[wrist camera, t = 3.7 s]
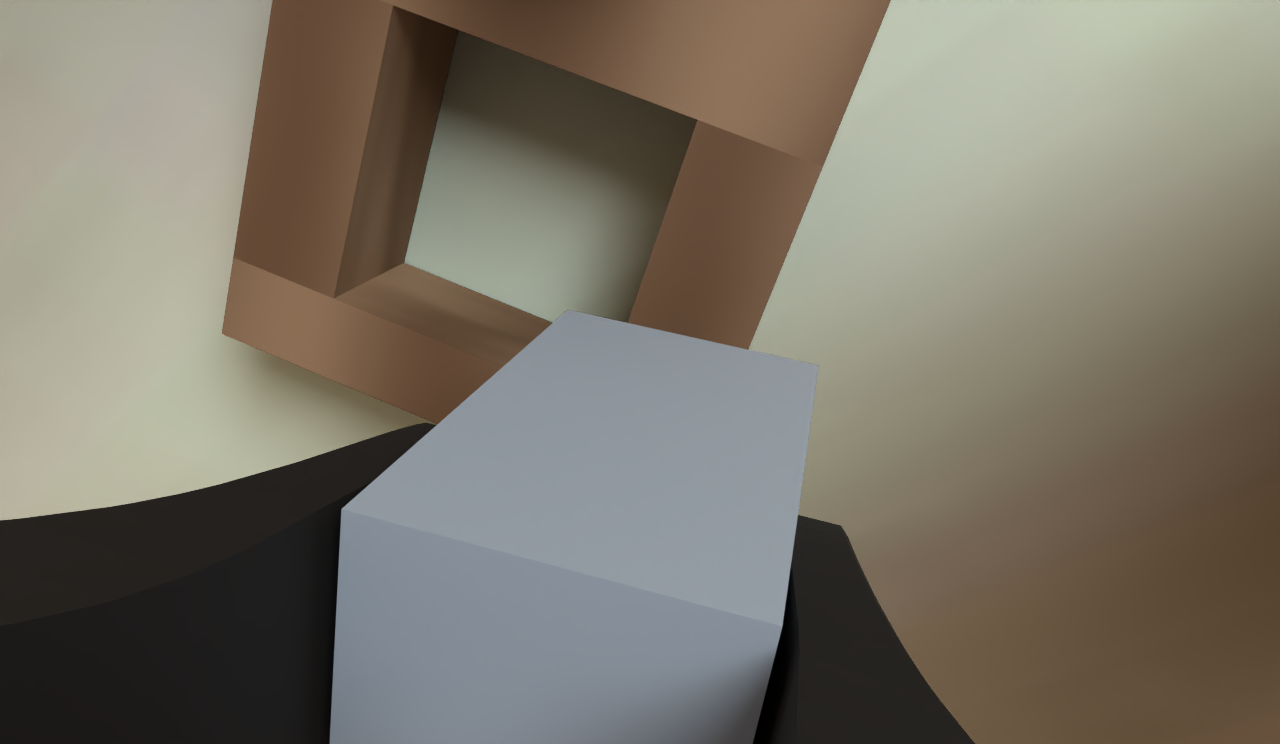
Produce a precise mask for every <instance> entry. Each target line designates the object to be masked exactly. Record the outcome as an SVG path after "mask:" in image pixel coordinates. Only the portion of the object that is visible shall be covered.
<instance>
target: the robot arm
mask: <svg viewBox="0 0 1280 744" xmlns="http://www.w3.org/2000/svg"><path fill="white" fill-rule="evenodd" d="M435 426H436V425H433V424H429V423H422V424H417V425H413V426H409V427H405V428H402V429H398V430H395V431H391V432H388V433H385V434H382V435H379V436H376V437H373V438H370V439H367V440H364V441H361V442H358V443H355V444H352V445H349V446H345V447H342V448H339V449H336V450H333V451H330V452H327V453H324V454H321V455H318V456H315V457H312V458H309V459H306V460H303V461H300V462H296V463H293V464H290V465H286V466H283V467H279V468H276V469H272V470H269V471H265V472H262V473H258V474H255V475H251V476H248V477H244V478H241V479H237V480H234V481H230V482H227V483H223V484H219V485H215V486H211V487H207V488H203V489H199V490H195V491H190V492H186V493H181V494H177V495H172V496H167V497H162V498H157V499H151V500H146V501H141V502H136V503H131V504H125V505H119V506H113V507H107V508H99V509H91V510H84V511H76V512H68V513H61V514H53V515H45V516H38V517H30V518H22V519H12V520H1V521H0V744H330V725H331V705H332V686H333V666H334V646H335V627H336V607H337V587H338V568H339V548H340V528H341V509H342V508H343V507H344V506H345V505H347V504H348V503H349V502H350V501H351V500H352V499H353V498H355V497H356V496H357V495H358V494H359V493H360V492H361V491H363V490H364V489H365V488H366V487H367V486H368V485H369V484H370V483H372V482H373V481H374V480H375V479H376V478H377V477H378V476H380V475H381V474H382V473H383V472H384V471H385V470H386V469H388V468H389V467H390V466H391V465H392V464H393V463H394V462H395V461H397V460H398V459H399V458H400V457H401V456H402V455H403V454H405V453H406V452H407V451H408V450H409V449H410V448H411V447H412V446H414V445H415V444H416V443H417V442H418V441H419V440H420V439H422V438H423V437H424V436H425V435H426V434H427V433H428V432H430V431H431V430H432V429H433V428H434V427H435ZM753 744H975V743H974V742H973V741H972V739H971V738H970V737H969V736H968V735H967V733H966V732H965V731H964V730H963V728H962V727H961V726H960V725H959V723H958V722H957V721H956V720H955V719H954V717H953V716H952V715H951V714H950V712H949V711H948V710H947V709H946V707H945V706H944V705H943V704H942V703H941V701H940V700H939V698H938V697H937V696H936V694H935V693H934V692H933V690H932V689H931V688H930V686H929V685H928V684H927V682H926V681H925V679H924V678H923V676H922V675H921V673H920V672H919V670H918V669H917V667H916V666H915V664H914V663H913V661H912V660H911V658H910V656H909V655H908V653H907V652H906V650H905V648H904V647H903V645H902V643H901V642H900V640H899V638H898V637H897V635H896V633H895V631H894V630H893V628H892V626H891V624H890V622H889V621H888V619H887V617H886V615H885V613H884V612H883V610H882V608H881V606H880V604H879V603H878V601H877V599H876V597H875V595H874V593H873V591H872V589H871V587H870V585H869V583H868V581H867V579H866V577H865V575H864V573H863V571H862V568H861V566H860V564H859V562H858V560H857V557H856V555H855V553H854V550H853V548H852V546H851V543H850V541H849V538H848V536H847V535H846V533H845V531H844V530H843V528H842V526H840V525H836V524H832V523H828V522H824V521H820V520H816V519H812V518H808V517H804V516H800V515H798V518H797V525H796V532H795V539H794V547H793V554H792V561H791V568H790V575H789V582H788V590H787V597H786V604H785V611H784V618H783V626H782V630H781V634H780V638H779V642H778V646H777V650H776V654H775V658H774V661H773V665H772V669H771V673H770V677H769V681H768V685H767V689H766V693H765V697H764V701H763V705H762V709H761V713H760V717H759V721H758V725H757V728H756V732H755V736H754V740H753Z"/></svg>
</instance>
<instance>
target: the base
mask: <svg viewBox="0 0 1280 744" xmlns="http://www.w3.org/2000/svg"><path fill="white" fill-rule="evenodd" d="M890 1H891V0H273V2H272V8H271V15H270V22H269V28H268V35H267V41H266V48H265V54H264V61H263V67H262V74H261V80H260V87H259V94H258V100H257V107H256V113H255V120H254V126H253V133H252V139H251V146H250V152H249V159H248V166H247V172H246V179H245V185H244V192H243V198H242V205H241V211H240V218H239V224H238V231H237V238H236V244H235V251H234V257H233V264H232V270H231V277H230V283H229V290H228V296H227V303H226V310H225V316H224V323H223V329H222V334H224V335H226V336H229V337H231V338H233V339H236V340H238V341H240V342H243V343H245V344H248V345H250V346H252V347H255V348H257V349H260V350H262V351H264V352H267V353H269V354H271V355H274V356H276V357H279V358H281V359H283V360H286V361H288V362H291V363H293V364H295V365H298V366H300V367H303V368H305V369H307V370H310V371H312V372H314V373H317V374H319V375H322V376H324V377H326V378H329V379H331V380H334V381H336V382H338V383H341V384H343V385H346V386H348V387H350V388H353V389H355V390H357V391H360V392H362V393H365V394H367V395H369V396H372V397H374V398H377V399H379V400H381V401H384V402H386V403H388V404H391V405H393V406H396V407H398V408H400V409H403V410H405V411H408V412H410V413H412V414H415V415H417V416H420V417H422V418H424V419H427V420H429V421H431V422H434V423H436V424H439V423H440V422H441V421H442V420H443V419H444V418H445V417H447V416H448V415H449V414H450V413H451V412H452V411H453V410H455V409H456V408H457V407H458V406H459V405H460V404H461V403H462V402H464V401H465V400H466V399H467V398H468V397H469V396H470V395H472V394H473V393H474V392H475V391H476V390H477V389H478V388H480V387H481V386H482V385H483V384H484V383H485V382H486V381H487V380H489V379H490V378H491V377H492V376H493V375H494V374H495V373H497V372H498V371H499V370H500V369H501V368H502V367H503V366H504V365H506V364H507V363H508V362H509V361H510V360H511V359H512V358H514V357H515V356H516V355H517V354H518V353H519V352H520V351H522V350H523V349H524V348H525V347H526V346H527V345H528V344H529V343H531V342H532V341H533V340H534V339H535V338H536V337H537V336H539V335H540V334H541V333H542V332H543V331H544V330H545V329H547V328H548V327H549V326H550V325H551V324H552V322H549V321H547V320H544V319H542V318H539V317H537V316H534V315H532V314H530V313H527V312H525V311H522V310H520V309H517V308H515V307H512V306H510V305H507V304H505V303H502V302H500V301H497V300H495V299H492V298H490V297H487V296H485V295H482V294H480V293H477V292H475V291H472V290H470V289H467V288H465V287H463V286H460V285H458V284H455V283H453V282H450V281H448V280H445V279H443V278H440V277H438V276H435V275H433V274H430V273H428V272H425V271H423V270H420V269H418V268H415V267H413V266H410V265H408V264H405V263H404V260H405V255H406V251H407V247H408V243H409V238H410V234H411V230H412V225H413V221H414V217H415V212H416V208H417V204H418V199H419V195H420V191H421V187H422V182H423V178H424V174H425V169H426V165H427V161H428V156H429V152H430V148H431V143H432V139H433V135H434V131H435V126H436V122H437V118H438V113H439V109H440V105H441V100H442V96H443V92H444V87H445V83H446V79H447V75H448V70H449V66H450V62H451V57H452V53H453V49H454V44H455V40H456V36H457V31H458V30H460V31H463V32H466V33H468V34H471V35H474V36H476V37H479V38H482V39H484V40H487V41H490V42H492V43H495V44H498V45H500V46H503V47H506V48H508V49H511V50H513V51H516V52H519V53H521V54H524V55H527V56H529V57H532V58H535V59H537V60H540V61H543V62H545V63H548V64H551V65H553V66H556V67H559V68H561V69H564V70H567V71H569V72H572V73H575V74H577V75H580V76H583V77H585V78H588V79H591V80H593V81H596V82H599V83H601V84H604V85H607V86H609V87H612V88H615V89H617V90H620V91H622V92H625V93H628V94H630V95H633V96H636V97H638V98H641V99H644V100H646V101H649V102H652V103H654V104H657V105H660V106H662V107H665V108H668V109H670V110H673V111H676V112H678V113H681V114H684V115H686V116H689V117H692V118H694V119H697V123H696V126H695V129H694V132H693V134H692V137H691V140H690V143H689V146H688V149H687V152H686V155H685V158H684V160H683V163H682V166H681V169H680V172H679V175H678V178H677V181H676V184H675V187H674V189H673V192H672V195H671V198H670V201H669V204H668V207H667V210H666V213H665V215H664V218H663V221H662V224H661V227H660V230H659V233H658V236H657V239H656V242H655V244H654V247H653V250H652V253H651V256H650V259H649V262H648V265H647V268H646V270H645V273H644V276H643V279H642V282H641V285H640V288H639V291H638V294H637V297H636V299H635V302H634V305H633V308H632V311H631V314H630V317H629V320H628V323H630V324H635V325H639V326H644V327H648V328H653V329H657V330H662V331H666V332H671V333H675V334H680V335H684V336H689V337H693V338H698V339H702V340H707V341H711V342H716V343H720V344H725V345H729V346H734V347H738V348H743V349H747V350H748V349H749V346H750V344H751V341H752V339H753V336H754V334H755V331H756V329H757V327H758V324H759V322H760V319H761V317H762V314H763V312H764V309H765V307H766V304H767V302H768V300H769V297H770V295H771V292H772V290H773V287H774V285H775V282H776V280H777V278H778V275H779V273H780V270H781V268H782V265H783V263H784V260H785V258H786V255H787V253H788V251H789V248H790V246H791V243H792V241H793V238H794V236H795V233H796V231H797V228H798V226H799V224H800V221H801V219H802V216H803V214H804V211H805V209H806V206H807V204H808V202H809V199H810V197H811V194H812V192H813V189H814V187H815V184H816V182H817V179H818V177H819V175H820V172H821V170H822V167H823V165H824V162H825V160H826V157H827V155H828V153H829V150H830V148H831V145H832V143H833V140H834V138H835V135H836V133H837V130H838V128H839V126H840V123H841V121H842V118H843V116H844V113H845V111H846V108H847V106H848V104H849V101H850V99H851V96H852V94H853V91H854V89H855V86H856V84H857V81H858V79H859V77H860V74H861V72H862V69H863V67H864V64H865V62H866V59H867V57H868V55H869V52H870V50H871V47H872V45H873V42H874V40H875V37H876V35H877V32H878V30H879V28H880V25H881V23H882V20H883V18H884V15H885V13H886V10H887V8H888V6H889V3H890Z"/></svg>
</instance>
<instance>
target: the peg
mask: <svg viewBox="0 0 1280 744" xmlns="http://www.w3.org/2000/svg"><path fill="white" fill-rule="evenodd" d="M818 367H819V365H815V364H810V363H806V362H801V361H797V360H792V359H788V358H783V357H779V356H774V355H770V354H765V353H761V352H756V351H752V350H747V349H743V348H738V347H734V346H729V345H725V344H720V343H716V342H711V341H707V340H702V339H698V338H693V337H689V336H684V335H680V334H675V333H671V332H666V331H662V330H657V329H653V328H648V327H644V326H639V325H635V324H630V323H626V322H621V321H617V320H612V319H608V318H603V317H599V316H594V315H590V314H585V313H581V312H576V311H572V310H567V311H566V312H565V313H564V314H562V315H561V316H560V317H559V318H558V319H557V320H556V321H554V322H553V323H552V324H551V325H550V326H549V327H548V328H547V329H545V330H544V331H543V332H542V333H541V334H540V335H539V336H537V337H536V338H535V339H534V340H533V341H532V342H531V343H529V344H528V345H527V346H526V347H525V348H524V349H523V350H522V351H520V352H519V353H518V354H517V355H516V356H515V357H514V358H512V359H511V360H510V361H509V362H508V363H507V364H506V365H504V366H503V367H502V368H501V369H500V370H499V371H498V372H497V373H495V374H494V375H493V376H492V377H491V378H490V379H489V380H487V381H486V382H485V383H484V384H483V385H482V386H481V387H480V388H478V389H477V390H476V391H475V392H474V393H473V394H472V395H470V396H469V397H468V398H467V399H466V400H465V401H464V402H462V403H461V404H460V405H459V406H458V407H457V408H456V409H455V410H453V411H452V412H451V413H450V414H449V415H448V416H447V417H445V418H444V419H443V420H442V421H441V422H440V423H439V424H437V425H436V426H435V427H434V428H433V429H432V430H431V431H430V432H428V433H427V434H426V435H425V436H424V437H423V438H422V439H420V440H419V441H418V442H417V443H416V444H415V445H414V446H412V447H411V448H410V449H409V450H408V451H407V452H406V453H405V454H403V455H402V456H401V457H400V458H399V459H398V460H397V461H395V462H394V463H393V464H392V465H391V466H390V467H389V468H388V469H386V470H385V471H384V472H383V473H382V474H381V475H380V476H378V477H377V478H376V479H375V480H374V481H373V482H372V483H370V484H369V485H368V486H367V487H366V488H365V489H364V490H363V491H361V492H360V493H359V494H358V495H357V496H356V497H355V498H353V499H352V500H351V501H350V502H349V503H348V504H347V505H345V506H344V507H343V508H342V509H341V528H340V548H339V568H338V587H337V607H336V627H335V646H334V666H333V686H332V705H331V725H330V744H753V740H754V736H755V732H756V728H757V725H758V721H759V717H760V713H761V709H762V705H763V701H764V697H765V693H766V689H767V685H768V681H769V677H770V673H771V669H772V665H773V661H774V658H775V654H776V650H777V646H778V642H779V638H780V634H781V630H782V626H783V618H784V611H785V604H786V597H787V590H788V582H789V575H790V568H791V561H792V554H793V547H794V539H795V532H796V525H797V518H798V511H799V503H800V496H801V489H802V482H803V475H804V467H805V460H806V453H807V446H808V439H809V431H810V424H811V417H812V410H813V403H814V396H815V388H816V381H817V374H818Z"/></svg>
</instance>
